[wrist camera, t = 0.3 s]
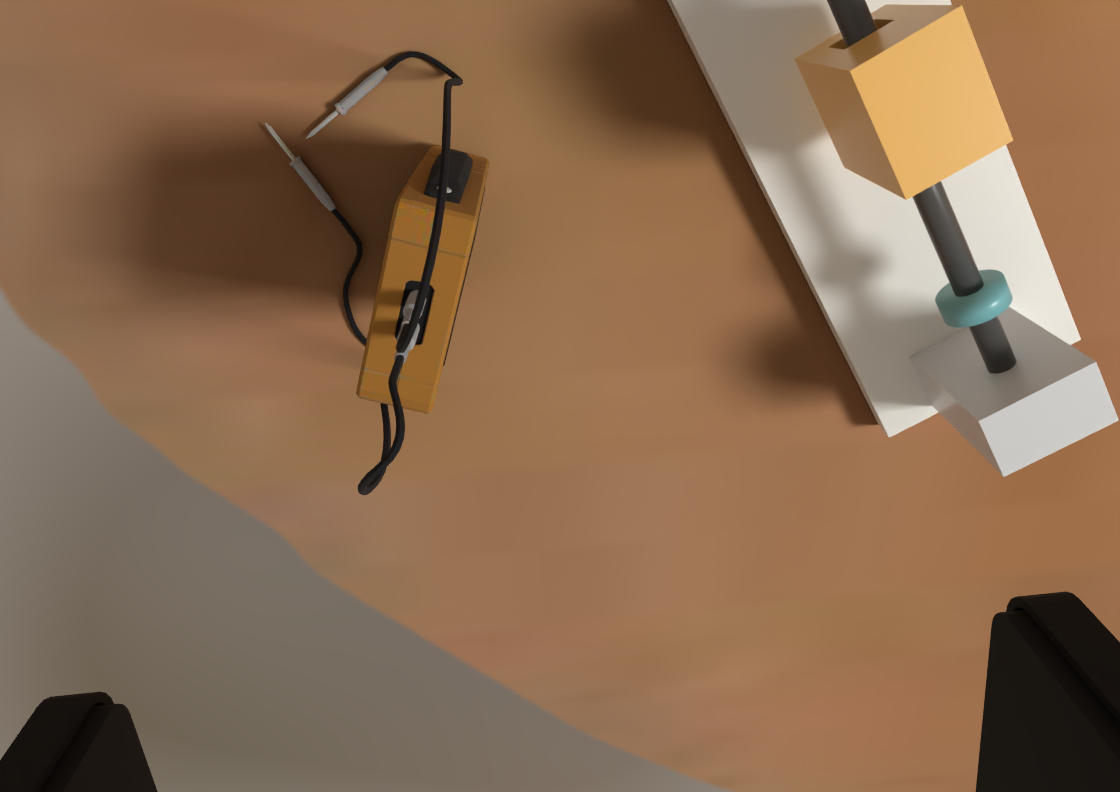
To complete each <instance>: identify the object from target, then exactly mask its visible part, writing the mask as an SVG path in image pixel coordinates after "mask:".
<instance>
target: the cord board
mask: <svg viewBox="0 0 1120 792" xmlns="http://www.w3.org/2000/svg"><path fill="white" fill-rule="evenodd" d="M667 2H668V4H669V6H670V8H671V10H672V12H673V14H674V16H675V18H676V20H677V22H678V24H679V26H680V28H681V30H682V32H683V34H684V36H685V38H686V40H687V42H688V44H689V46H690V48H691V50H692V52H693V54H694V56H695V58H696V60H697V62H698V64H699V66H700V68H701V70H702V72H703V74H704V76H705V78H706V80H707V82H708V84H709V86H710V88H711V90H712V92H713V94H714V96H715V98H716V100H717V102H718V104H719V106H720V108H721V110H722V112H723V114H724V116H725V118H726V120H727V122H728V124H729V126H730V128H731V130H732V132H733V134H734V136H735V138H736V140H737V142H738V144H739V146H740V148H741V150H742V152H743V154H744V156H745V158H746V160H747V162H748V164H749V166H750V168H751V170H752V172H753V174H754V176H755V178H756V180H757V182H758V184H759V186H760V188H761V190H762V192H763V194H764V196H765V198H766V200H767V202H768V204H769V206H770V208H771V210H772V212H773V214H774V216H775V218H776V220H777V222H778V224H779V226H780V228H781V230H782V232H783V234H784V236H785V238H786V240H787V242H788V244H789V246H790V248H791V250H792V252H793V254H794V256H795V258H796V260H797V262H798V264H799V266H800V268H801V270H802V272H803V274H804V276H805V278H806V280H807V282H808V284H809V286H810V288H811V290H812V292H813V294H814V296H815V298H816V300H817V302H818V304H819V306H820V308H821V310H822V312H823V314H824V316H825V318H826V320H827V322H828V324H829V326H830V329H831V331H832V333H833V335H834V337H835V339H836V341H837V343H838V345H839V347H840V349H841V351H842V353H843V355H844V357H845V359H846V361H847V363H848V365H849V367H850V369H851V371H852V373H853V375H854V377H855V379H856V381H857V383H858V385H859V387H860V389H861V391H862V393H863V395H864V397H865V399H866V401H867V403H868V405H869V407H870V409H871V411H872V413H873V415H874V417H875V419H876V421H877V423H878V425H879V426H880V427H881V428H882V430H883V431H884V432H885V433H886V434H887V436H888V437H891V436H893V435H895V434H897V433H899V432H901V431H903V430H905V429H907V428H909V427H911V426H913V425H915V424H917V423H919V422H921V421H923V420H925V419H927V418H929V417H931V416H932V415H934V414H936V413H938V412H939V413H940V414H941V415H942V416H943V417H944V418H945V419H946V420H947V421H948V422H949V423H950V424H951V425H952V426H953V427H954V428H955V429H956V430H957V431H958V432H959V433H960V434H961V435H962V436H963V437H964V438H965V439H966V440H967V441H968V442H969V443H970V444H971V445H972V446H973V447H974V448H975V449H976V450H977V451H978V452H979V453H980V454H981V455H982V456H983V457H984V458H985V459H986V460H987V461H988V462H989V463H990V464H991V465H992V466H993V467H994V468H995V469H996V470H997V471H998V472H999V473H1000V474H1001V475H1002V476H1003V477H1005V476H1007V475H1009V474H1011V473H1013V472H1015V471H1017V470H1019V469H1021V468H1023V467H1025V466H1027V465H1029V464H1031V463H1033V462H1035V461H1037V460H1039V459H1041V458H1043V457H1045V456H1047V455H1049V454H1051V453H1054V452H1056V451H1058V450H1060V449H1062V448H1064V447H1066V446H1068V445H1070V444H1072V443H1074V442H1076V441H1078V440H1080V439H1082V438H1084V437H1086V436H1088V435H1090V434H1092V433H1094V432H1096V431H1098V430H1100V429H1102V428H1104V427H1106V426H1108V425H1110V424H1112V423H1114V422H1116V421H1118V417H1117V415H1116V412H1115V409H1114V407H1113V404H1112V402H1111V399H1110V396H1109V394H1108V391H1107V389H1106V386H1105V383H1104V381H1103V378H1102V376H1101V373H1100V370H1099V368H1098V365H1097V362H1096V361H1094V360H1093V359H1091V358H1090V357H1088V356H1086V355H1085V354H1083V353H1082V352H1080V351H1079V350H1077V349H1075V348H1074V347H1072V346H1071V344H1073V343H1075V342H1077V341H1079V340H1081V338H1080V336H1079V333H1078V331H1077V328H1076V325H1075V323H1074V320H1073V318H1072V315H1071V312H1070V310H1069V307H1068V305H1067V302H1066V299H1065V297H1064V294H1063V292H1062V289H1061V287H1060V284H1059V281H1058V279H1057V276H1056V274H1055V271H1054V268H1053V266H1052V263H1051V261H1050V258H1049V255H1048V253H1047V250H1046V248H1045V245H1044V242H1043V240H1042V237H1041V235H1040V232H1039V230H1038V227H1037V224H1036V222H1035V219H1034V217H1033V214H1032V211H1031V209H1030V206H1029V204H1028V201H1027V198H1026V196H1025V193H1024V191H1023V188H1022V185H1021V183H1020V180H1019V178H1018V175H1017V173H1016V170H1015V167H1014V165H1013V162H1012V160H1011V157H1010V154H1009V152H1008V149H1007V147H1006V145H1004V146H1003V147H1001V148H999V149H997V150H995V151H994V152H992V153H990V154H988V155H986V156H985V157H983V158H981V159H979V160H977V161H976V162H974V163H972V164H970V165H968V166H967V167H965V168H963V169H961V170H959V171H958V172H956V173H954V174H952V175H950V176H949V177H947V178H945V179H943V180H941V181H940V182H938V183H936V184H934V185H932V186H931V187H929V188H927V189H925V190H924V191H922V192H920V193H918V194H916V195H915V196H913V197H911V198H909V199H907V200H905V199H903V198H901V197H900V196H898V195H896V194H894V193H892V192H890V191H888V190H886V189H884V188H882V187H880V186H879V185H877V184H875V183H873V182H871V181H869V180H867V179H865V178H863V177H861V176H859V175H858V174H856V173H854V172H852V171H850V170H848V169H846V168H844V166H843V164H842V162H841V160H840V157H839V155H838V153H837V151H836V149H835V147H834V144H833V142H832V140H831V138H830V136H829V133H828V131H827V129H826V127H825V125H824V123H823V120H822V118H821V116H820V114H819V112H818V109H817V107H816V105H815V103H814V101H813V99H812V96H811V94H810V92H809V90H808V88H807V85H806V83H805V81H804V79H803V77H802V75H801V72H800V70H799V68H798V66H797V64H796V61H795V58H797V57H798V56H800V55H802V54H803V53H805V52H807V51H808V50H810V49H812V48H814V47H815V46H817V45H819V44H820V43H822V42H824V41H825V40H827V39H829V38H830V37H832V36H834V35H835V34H837V33H839V32H841V34H842V37H843V39H844V41H845V44H846V46H847V48H848V47H850V46H851V45H853V44H855V43H857V42H858V41H860V40H862V39H863V38H865V37H867V36H868V35H870V34H872V33H873V32H875V31H877V30H878V29H877V27H876V25H875V22H874V20H873V17H872V15H871V13H872V12H874V11H876V10H877V9H879V8H881V7H882V6H884V5H886V4H898V5H952V4H951V2H950V0H667Z"/></svg>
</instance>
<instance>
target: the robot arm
mask: <svg viewBox="0 0 1120 792" xmlns="http://www.w3.org/2000/svg"><path fill="white" fill-rule="evenodd" d="M0 792H157V789H156V786H155V784H154V781H153V778H152V775H151V772H150V769H149V766H148V764H147V761H146V758H145V755H144V753H143V749H142V746H141V744H140V741H139V738H138V735H137V732H136V729H135V726H134V724H133V721H132V718H131V715H130V713H129V711H128V709H127V707H126V706H124V705H123V704H114V703H113V701H112V699H111V697H110V696H108V695H107V694H106V693H103V692H93V693H83V694H74V695H64V696H55V697H49V698H47V699H45V700H43V701H42V702H41V703H40V704H39V706H38V707H37V708H36V709H35V711H34V713H33V714H32V715H31V717H30V718H29V719H28V721H27V723H26V724H25V726H24V727H23V728H22V730H21V731H20V733H19V734H18V735H17V737H16V738H15V740H14V741H13V743H12V744H11V746H10V747H9V748H8V750H7V752H6V753H5V754H4V756H3V757H2V759H1V760H0ZM976 792H1120V642H1119V641H1118V640H1117V639H1116V638H1115V637H1114V636H1113V635H1112V634H1111V632H1110V631H1109V630H1108V629H1107V628H1106V627H1105V626H1104V625H1103V624H1102V623H1101V622H1100V621H1099V620H1098V619H1097V617H1096V616H1095V615H1094V614H1093V613H1092V612H1091V611H1090V610H1089V609H1088V608H1087V607H1086V606H1085V605H1084V603H1083V602H1082V601H1081V600H1080V599H1079V598H1077V597H1076V596H1075V595H1074V594H1072V593H1069V592H1058V593H1048V594H1039V595H1029V596H1019V597H1015V598H1012V599H1011V600H1010V602H1009V603H1008V605H1007V610H1006V612H1000V613H997V614H995V616H994V618H993V621H992V628H991V638H990V648H989V659H988V669H987V680H986V690H985V701H984V711H983V722H982V732H981V742H980V753H979V763H978V774H977V784H976Z"/></svg>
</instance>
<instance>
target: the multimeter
mask: <svg viewBox="0 0 1120 792" xmlns="http://www.w3.org/2000/svg"><path fill="white" fill-rule="evenodd" d="M410 57H418V58H422V59H424V60H427V61H429V62H430V63H432V64H434V65H435V66H437V67H438V68H440V69H441V70H442V71H444V72H445V73H446V74H448V75H449V76H450V77H451V78H452V79H449V80H447V81H446V82H445V85H444V100H443V132H442V146H438V145H433V146H431V147H430V148H429V150H428V151H427V153H426V154H425V156H424V157H423V159H422V160H421V162H420V163H419V165H418V166H417V168H416V169H415V171H414V172H413V174H412V176H411V177H410V179H409V180H408V182H407V184H406V185H405V187H404V188H403V190H402V191H401V193H400V195H399V196H398V198H397V200H396V203H395V207H394V211H393V215H392V220H391V225H390V229H389V234H388V240H387V245H386V250H385V255H384V259H383V264H382V269H381V274H380V279H379V284H378V289H377V294H376V298H375V303H374V308H373V313H372V318H371V323H370V328H369V332H368V337H367V339H366V338H365V337H364V336H363V335H362V333H361V332H360V331H359V329H358V327H357V326H356V324H355V321H354V318H353V316H352V312H351V308H350V304H349V298H348V289H349V284H350V281H351V278H352V276H353V274H354V272H355V270H356V268H357V266H358V264H359V262H360V259H361V256H362V244H361V241H360V240H359V238H358V236H357V234H356V233H355V232H354V230H353V229H352V228H351V226H350V225H349V224H348V222H347V221H346V220H345V218H344V217H343V216H342V215H341V214H340V213H339V212H338V210H337V209H336V206H335V205H334V203H333V201H332V200H331V198H330V196H329V195H328V194H327V193H326V191H325V190H324V189H323V188H322V186H321V185H320V184H319V182H318V181H317V180H316V179H315V177H314V176H313V175H312V173H311V172H310V171H309V170H308V168H307V167H306V166H305V165H304V163H303V162H302V161H301V157H300V156H298V157H297V158H295V157H294V155H293V154H292V153H291V152H290V150H289V149H288V148H287V146H286V145H285V144H284V143H283V141H282V140H281V139H280V138H279V136H278V135H277V134H276V132H275V131H274V130H273V129H272V128H271V127H270V126H269V125H268V124H267V123H265V122H264V123H265V125H266V127H267V129H268V131H269V132H270V133H271V134H272V136H273V137H274V138H275V140H276V141H277V142H278V143H279V145H280V146H281V147H282V148H283V150H284V151H285V152H286V154H287V155H288V156H289V157H290V159H291V160H292V161H291V162H290V163H289V165H290V166H292V167H294V169H295V170H296V171H297V173H298V174H299V175H300V176H301V178H302V179H303V180H304V181H305V183H306V184H307V185H308V187H309V188H310V189H311V190H312V192H313V193H314V194H315V195H316V197H317V198H318V199H319V200H320V202H321V203H322V204H323V205H324V206H325V207H326V208H327V209H328V210H329V211H331V212H332V213H333V214H334V215H335V216H336V218H337V219H338V220H339V221H340V222H341V223H342V225H343V226H344V227H345V229H346V230H347V231H348V233H349V234H350V235H351V237H352V238H353V240H354V241H355V243H356V246H357V255H356V258H355V261H354V263H353V265H352V267H351V269H350V271H349V273H348V275H347V277H346V280H345V283H344V287H343V300H344V306H345V310H346V313H347V317H348V320H349V322H350V325H351V327H352V329H353V331H354V333H355V334H356V335H357V337H358V338H359V339H360V340H361V341H362V342H363V343H364V344H365V345H366V347H365V352H364V357H363V362H362V366H361V371H360V376H359V381H358V386H357V392H356V394H357V395H358V397H359V398H362V399H366V400H370V401H375V402H379V403H381V410H382V418H383V432H384V441H383V452H382V457H381V461H380V462H379V463H378V464H377V465H376V466H375V467H374V468H373V469H372V470H371V471H369V472H368V473H367V474H366V475H365V477H364V478H363V479H362V480H361V481H360V483H359V485H358V491H359V493H360V494H362V495H367V494H369V493H370V492H371V491H372V490H373V489H374V488H375V487H376V486H377V485H378V484H379V482H380V481H381V479H382V477H383V475H384V473H385V471H386V468H387V466H388V465H389V464H390V463H391V462H392V461H393V460H394V458H395V457H396V455H397V454H398V452H399V450H400V449H401V446H402V443H403V439H404V433H405V421H404V414H403V409H402V408H405V409H409V410H414V411H418V412H423V413H427V414H428V413H430V412H431V411H432V409H433V405H434V401H435V396H436V392H437V388H438V384H439V380H440V376H441V371H442V367H443V366H444V365H445V360H446V356H447V352H448V348H449V344H450V340H451V336H452V331H453V327H454V323H455V319H456V315H457V311H458V307H459V302H460V298H461V294H462V290H463V286H464V282H465V277H466V273H467V269H468V265H469V261H470V257H471V253H472V248H473V244H474V240H475V235H476V230H477V225H478V220H479V215H480V210H481V205H482V200H483V195H484V190H485V182H486V178H487V173H488V168H489V161H488V160H487V159H486V158H482V157H479V156H475V155H471V154H468V153H464V152H460V151H457V150H453V149H450V136H451V88H452V86H459V85H461V84H463V80H462V79H461V78H460V77H459V76H458V75H457V74H455V73H454V72H453V71H451V70H450V69H449V68H448V67H446V66H445V65H443V64H442V63H441V62H439V61H438V60H436V59H434V58H432V57H431V56H429V55H426V54H424V53H420V52H407V53H404V54H402V55H400V56H398V57H396V58H395V59H394V60H392V61H391V62H390V63H388V64H387V65H386V66H385V67H381V68H379V69H378V70H376V71H375V72H373V73H372V74H371V75H370V76H368V77H367V78H366V79H365V80H364V81H363V82H362V83H360V84H359V85H358V86H357V87H356V88H355V89H354V90H353V91H351V92H350V93H349V94H348V95H347V96H346V97H345V98H343V99H342V100H341V101H340V102H339V103H335V104H334V105H335V107H336V110H335V111H334V112H333V113H332V114H330V115H329V116H328V117H327V118H326V119H325V120H324V121H322V122H321V123H320V124H319V125H318V126H317V127H316V128H314V129H313V130H312V131H311V132H310V134H309V135H308V136H307V138H309V137H311V136H313V135H315V134H316V133H317V132H318V131H319V130H320V129H322V128H323V127H324V126H325V125H326V124H327V123H329V122H330V121H331V120H332V119H333V118H334V117H335V116H337V115H338V114H339V113H341V114H342V115H345V114H346V111H348V110H349V109H350V108H351V107H352V106H353V105H354V104H356V103H357V102H358V101H359V100H360V99H361V98H362V97H364V96H365V95H366V94H367V93H368V92H369V91H370V90H372V89H373V88H374V87H375V86H376V85H377V84H379V83H380V82H381V81H382V79H383V78H384V77H385V76H386V75H387V73H388V72H387V71H389V70H390V69H391V68H392V67H394V66H395V65H396V64H397V63H399V62H400V61H402V60H404V59H406V58H410ZM307 138H306V139H307ZM306 139H305V140H306ZM387 404H388V405H392V406H394V411H395V416H396V435H395V439H394V442H393V445H392V447H391V428H390V419H389V412H388V405H387ZM390 448H391V449H390Z"/></svg>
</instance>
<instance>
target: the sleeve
mask: <svg viewBox="0 0 1120 792" xmlns="http://www.w3.org/2000/svg"><path fill="white" fill-rule="evenodd" d="M871 15H872V17H873V20H874V22H875V25H876V27H877V29H878V30H877V31H875V32H873V33H872V34H870V35H868V36H867V37H865V38H863V39H862V40H860V41H858V42H857V43H855V44H853V45H851V46H850V47H848V48H847V46H846V44H845V41H844V39H843V37H842V34H841V32H839V33H837V34H835V35H834V36H832V37H830V38H829V39H827V40H825V41H824V42H822V43H820V44H819V45H817V46H815V47H814V48H812V49H810V50H808V51H807V52H805V53H803V54H802V55H800V56H798V57H797V58H795V61H796V64H797V66H798V68H799V70H800V72H801V75H802V77H803V79H804V81H805V83H806V85H807V88H808V90H809V92H810V94H811V96H812V99H813V101H814V103H815V105H816V107H817V109H818V112H819V114H820V116H821V118H822V120H823V123H824V125H825V127H826V129H827V131H828V133H829V136H830V138H831V140H832V142H833V144H834V147H835V149H836V151H837V153H838V155H839V157H840V160H841V162H842V164H843V166H844V168H846V169H848V170H850V171H852V172H854V173H856V174H858V175H859V176H861V177H863V178H865V179H867V180H869V181H871V182H873V183H875V184H877V185H879V186H880V187H882V188H884V189H886V190H888V191H890V192H892V193H894V194H896V195H898V196H900V197H901V198H903V199H905V200H907V199H909V198H911V197H913V196H915V195H916V194H918V193H920V192H922V191H924V190H925V189H927V188H929V187H931V186H932V185H934V184H936V183H938V182H940V181H941V180H943V179H945V178H947V177H949V176H950V175H952V174H954V173H956V172H958V171H959V170H961V169H963V168H965V167H967V166H968V165H970V164H972V163H974V162H976V161H977V160H979V159H981V158H983V157H985V156H986V155H988V154H990V153H992V152H994V151H995V150H997V149H999V148H1001V147H1003V146H1004V145H1006V144H1008V143H1010V142H1012V141H1013V138H1012V136H1011V133H1010V130H1009V128H1008V125H1007V122H1006V120H1005V117H1004V115H1003V112H1002V109H1001V107H1000V104H999V102H998V99H997V96H996V94H995V91H994V88H993V86H992V83H991V81H990V78H989V75H988V73H987V70H986V67H985V65H984V62H983V60H982V57H981V54H980V52H979V49H978V47H977V44H976V41H975V39H974V36H973V33H972V31H971V28H970V26H969V23H968V20H967V18H966V15H965V13H964V10H963V7H962V5H898V4H886V5H884V6H882V7H881V8H879V9H877V10H876V11H874V12H872V13H871Z"/></svg>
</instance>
